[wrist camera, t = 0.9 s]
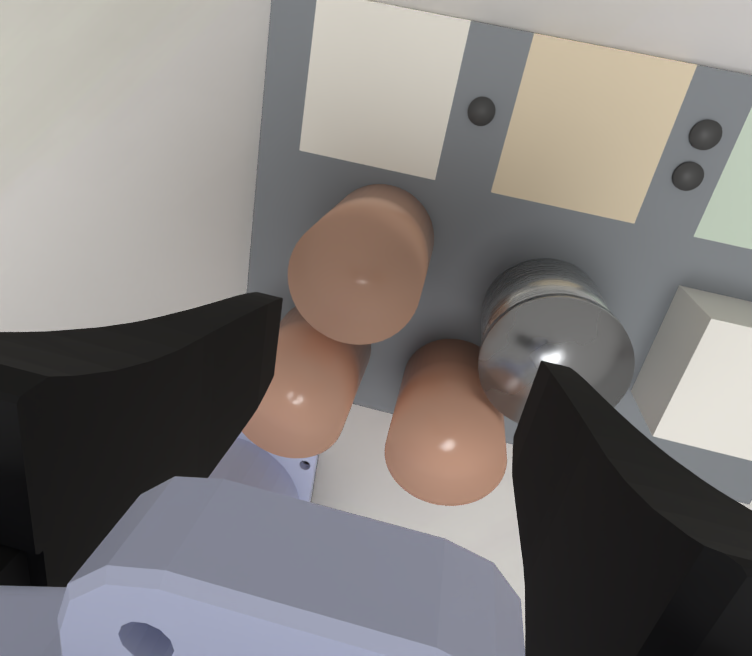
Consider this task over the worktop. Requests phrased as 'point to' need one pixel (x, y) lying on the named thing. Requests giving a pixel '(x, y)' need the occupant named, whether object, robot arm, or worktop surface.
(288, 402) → the tan rounded block
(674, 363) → the white block
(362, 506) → the worktop surface
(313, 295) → the tan rounded cylinder
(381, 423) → the worktop surface
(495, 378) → the tin
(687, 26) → the worktop surface
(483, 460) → the tan rounded block
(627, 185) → the board
